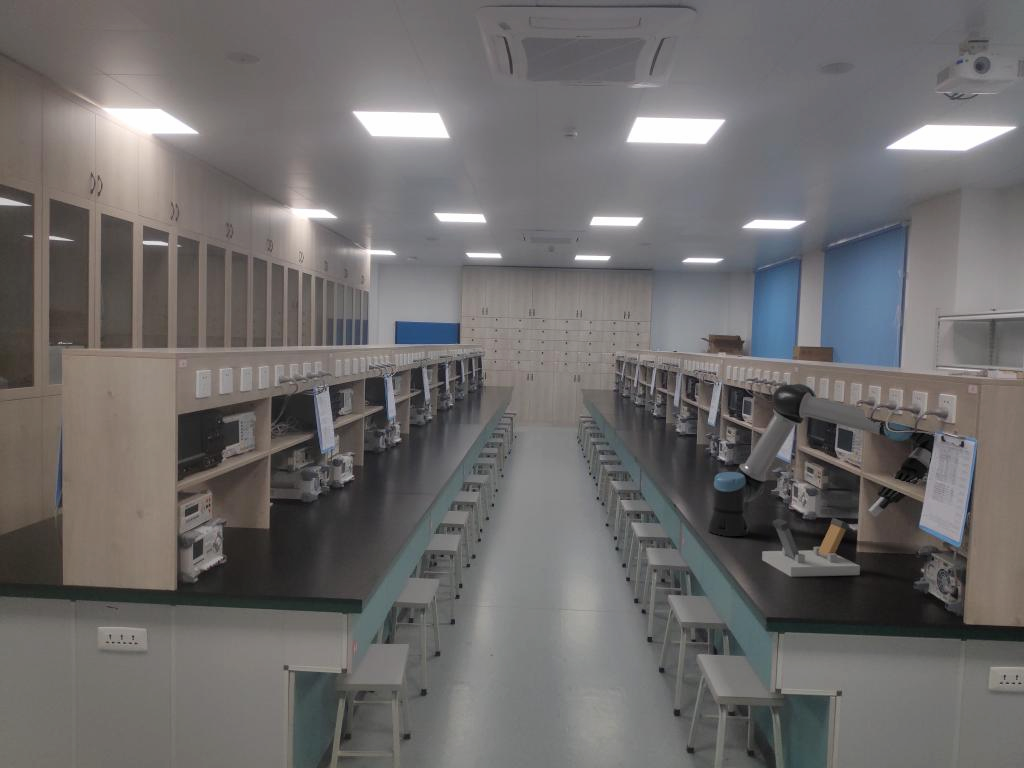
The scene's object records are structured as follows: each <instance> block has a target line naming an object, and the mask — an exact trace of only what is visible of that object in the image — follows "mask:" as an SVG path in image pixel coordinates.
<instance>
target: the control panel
mask: <svg viewBox="0 0 1024 768" xmlns="http://www.w3.org/2000/svg"><path fill="white" fill-rule="evenodd" d="M819 548H820V546H813V549H812V550H810V549H809V550H798V552H799V554H795V559H793V558H792V557H790V556H788V555H786V553H785V550H784V548H783V546H782V550H768V551H767V550H766V551H765V550H764V551H763V550H762V553H761V554H762V555H761V560H762V561H763V562H765V563H767V564H769V565H770V566H772V567H774V568H775V569H776V570H779V571H781V572H782V573H784V574H785V575H787V576H789V577H790V578H791V577H792V578H793V577H829V576H831V577H832V576H833V577H834V576H835V577H836V576H860V575H861V574H860V573H861V565H859V564H857V563H855V562H853V561H851V560H849V559H847V558H845V557H842V556H840V555H838V554H837V553H836V552H835V553H827V558H825V557H823V556H821V555H819V554H818V551H819Z"/></svg>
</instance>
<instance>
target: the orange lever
mask: <svg viewBox="0 0 1024 768" xmlns="http://www.w3.org/2000/svg"><path fill="white" fill-rule="evenodd" d="M849 526H850V524H848V523H846V522H845V521H843V520H839V519H837V518H835V517H832V518H831V521H830V526H829V528H828V530H827V532H826V534H825V535H824V536H825V537H824V538H823V540H822V542H821V545H820V546H819V547H820V548H819V551H818V554H819V555H821V556H823V557H825V558H827V553H835V554H836V552H837V550H838V547H839V545H840V543H841V541H842V539H843V537H844V535H845V533H846V531H847V530H848V529H849Z"/></svg>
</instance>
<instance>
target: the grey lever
mask: <svg viewBox="0 0 1024 768" xmlns="http://www.w3.org/2000/svg"><path fill="white" fill-rule="evenodd" d="M772 525H773V527H774V528H775V530H776V533H777V535H778V538H779V540H780V543H781V544H782V547H783V548H784V550H785V553H786V555H788V556H790V557H792V558H793V559H795V554H799V552H798V551H799V549H798V548H797V547H798V546H797V545H796V542H795V540H794V538H793V534H792V532H791V530H790V528H791V527H790V524H789V522H788V521H786V520H784V519H781V518H779V517H778V518H776V519H775V520H773V521H772Z"/></svg>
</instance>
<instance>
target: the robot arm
mask: <svg viewBox="0 0 1024 768" xmlns="http://www.w3.org/2000/svg"><path fill="white" fill-rule="evenodd" d="M771 401H772V406H773V407H772V408H773V409H772V411H773V413H774V414H773V416H772V418H771V419H770V421H769V423H768V425H767V426H766V428H765V429H764V431H763V433H762V435H761V436H760V437H759V440H758V441H757V443H756V445H755V446H754V448H753V449H752V452H751V453H750V454H749V457H748V458H747V460H746V461H745V463H740V464H739V465H738V467H737V469H736V470H735V471H724V472H719V473H717V474H716V475H715V476H714V482H713V504H712V505H713V507H712V511H713V512H712V514H711V516H710V518H709V521H708V525H707V531H708V530H709V531H710V532H712V533H714V534H713V535H715V534H718V535H717V536H720V535H723V536H722V537H725V536H744V537H746V536H745V535H747V534H748V535H749V529H748V524H747V522H746V518H745V517H746V516H745V503H748V502H751V501H754V500H756V499H758V498H759V497H760V496H761V495H762V493H763V491H764V487H765V485H764V484H765V482H766V481H767V476H766V473H767V472H768V470H769V468H770V467H771V465H772V464H773V462H774V460H775V459H776V457H777V456H778V454H779V452H780V450H781V449H782V447H783V445H784V444H785V442H786V440H787V439H788V437H789V436H790V434H791V432H792V431H793V429H794V428H795V426H796V425H801V424H802V423H803V422H804V419H805V418H806V417H808V418H812V419H816V420H820V421H823V422H828V423H832V424H836V425H838V426H839V425H840V426H843V427H847V428H852V429H856V430H859V431H863V432H866V431H867V433H871V434H875V435H879V436H882V437H886V438H888V439H890V440H892V441H897V442H902V441H906V440H909V439H910V440H909V441H911V442H913V443H914V444H915V445H917V447H916V448H915V449H914V450H913V451H912V452H911V453H910V454H909V456H908V457H906V459H905V460H904V461H903V462H902V463H901V465H900V467H901V468H900V469H899V470H898V471H897V472H896V473H894V474H892V473H891V476H892V475H893V476H894V477H895V479H899V480H901V481H906V482H909V483H913V484H919V483H920V482H919V479H921V480H922V478H923V477H924V476H926V475H925V473H927V470H928V465H929V462H930V458H931V453H932V447H933V440H934V436H933V435H929V434H925V433H914V432H912V433H894V432H890V431H887V430H886V429H885V425H882V424H883V422H875V423H874V422H873V421H871V420H870V419H868V418H867V417H866V416H865V413H864V410H863V409H864V408H863V407H859V406H855V405H854V406H853V405H850V404H846V403H845V404H844V403H843V402H838V401H837V402H836V401H833V400H828V399H825V398H820V397H817V395H816V393H815V391H814V390H813V389H812V388H811V387H810V386H808V385H805V384H801V383H795V384H784V385H781V386H779V387H777V389H776V390H775V391H774V393H773V395H772V400H771ZM862 408H863V409H862ZM880 423H881V427H878V425H880ZM883 427H884V428H883ZM889 427H890V428H892V429H895V430H910V428H908V427H906V426H903V425H900V424H895V423H891V422H889ZM920 438H921V439H920ZM927 474H928V473H927ZM893 476H892V477H893ZM924 478H925V477H924ZM924 478H923V479H924ZM876 494H877V495H878V497H879V498H877V499H876V501H875V502H874V503H873V504H872V505H871V506H870V508H869V509H868V510H867V511H868V512H869V513H870V514H871V516H872V517H875V518H876V517H878V516H879V514H881V513H882V512H883V510H885V509H886V508H887V507H888V506H889V505H890V504H893V503H895V504H897V503H899V502H901V501H902V500H903V499H904V498H906V497H907V495H904V494H902V493H900V492H897V491H894V490H892V489H889V488H886V487H884V486H882V485H881V487H880V488H879V489H878V491H877V493H876ZM709 531H708V532H709ZM710 532H709V533H710ZM712 533H711V534H712ZM748 535H747V536H748Z"/></svg>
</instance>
